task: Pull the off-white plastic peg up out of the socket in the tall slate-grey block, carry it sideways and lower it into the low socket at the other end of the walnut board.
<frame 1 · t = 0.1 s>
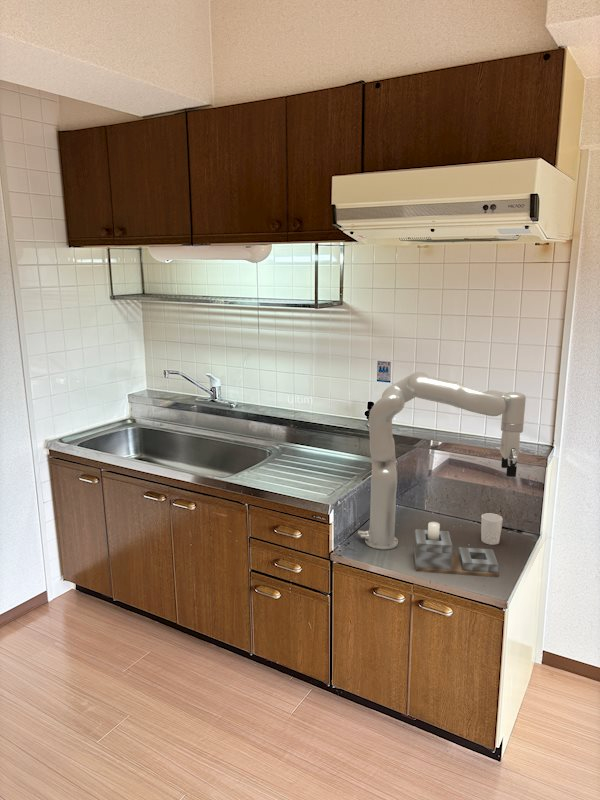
hand: (508, 472, 224), 31 cm above the countertop, tool pointing down, fingers open, 9 cm apart
peg: (432, 544, 219), point 7 cm above the countertop, touching socket board
socket board: (454, 564, 219), on the countertop
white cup: (490, 541, 238), on the countertop
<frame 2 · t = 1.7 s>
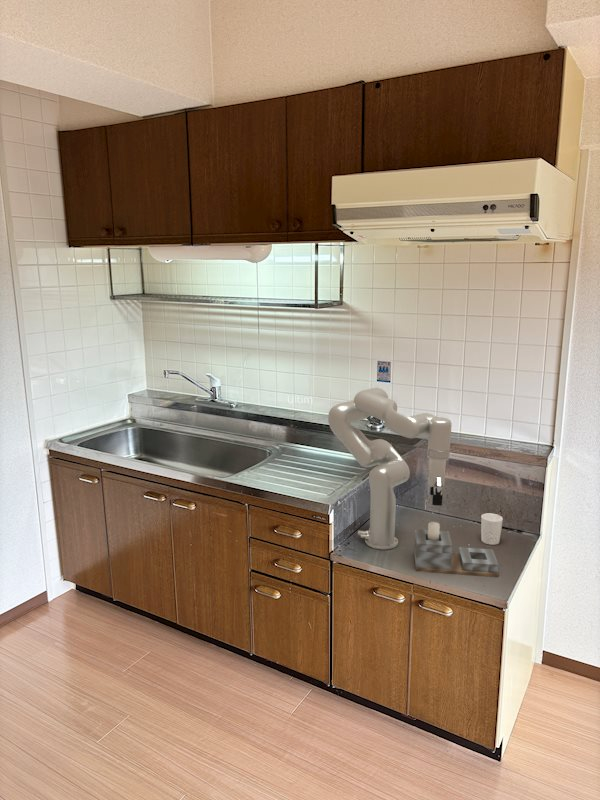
hand: (435, 499, 215), 24 cm above the countertop, tool pointing down, fingers open, 9 cm apart
nothing on the countertop moved.
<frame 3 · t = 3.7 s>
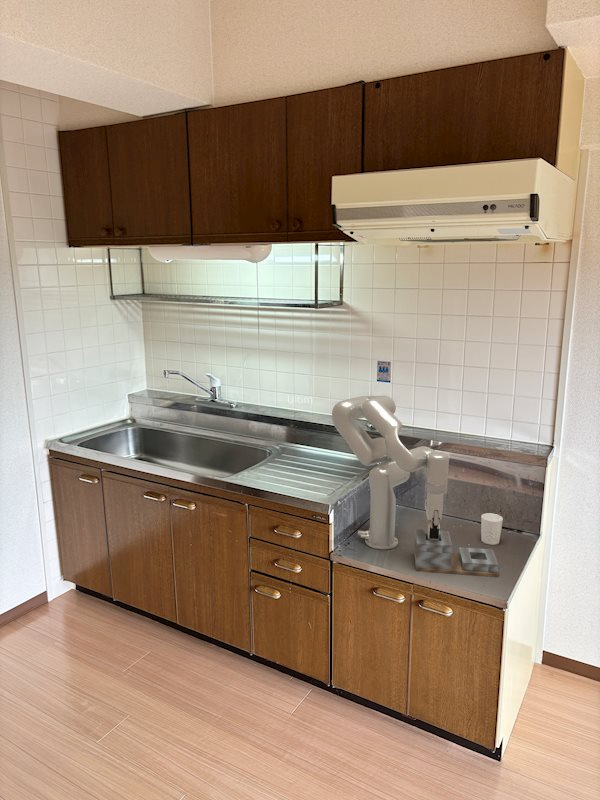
hand: (433, 535, 218), 11 cm above the countertop, tool pointing down, fingers closed on peg, 4 cm apart
peg: (432, 544, 219), point 7 cm above the countertop, touching gripper, socket board
everything else where it was.
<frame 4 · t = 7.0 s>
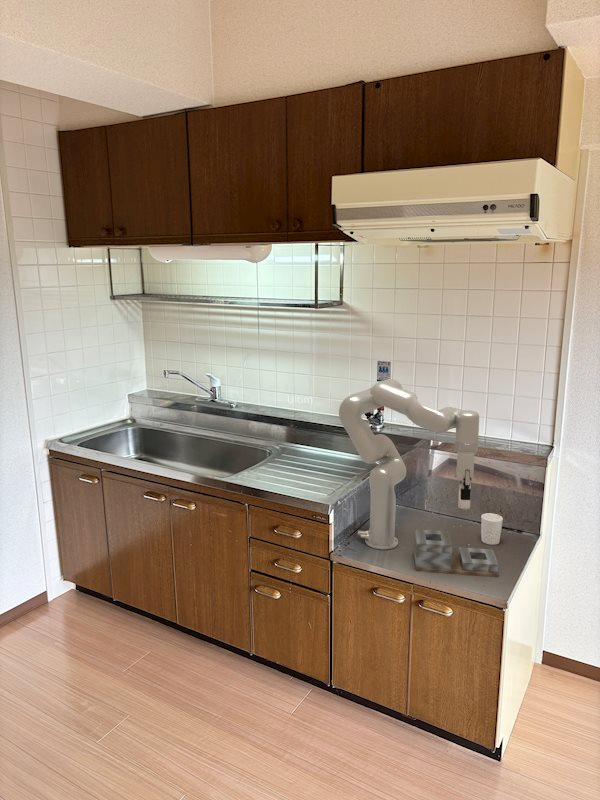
hand: (464, 496, 213), 26 cm above the countertop, tool pointing down, fingers closed on peg, 4 cm apart
peg: (464, 507, 214), point 22 cm above the countertop, touching gripper
everything else where it was.
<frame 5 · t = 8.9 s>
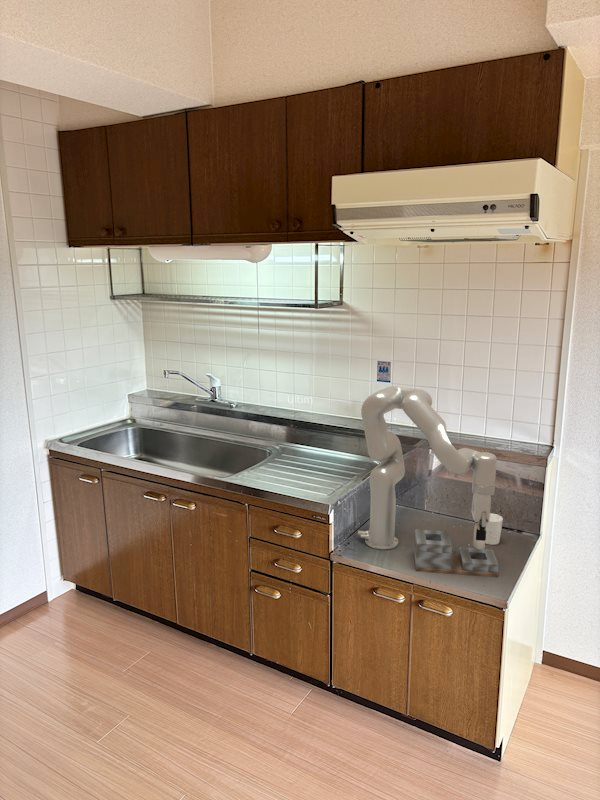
hand: (479, 536, 216), 11 cm above the countertop, tool pointing down, fingers closed on peg, 4 cm apart
peg: (478, 546, 216), point 8 cm above the countertop, touching gripper
everything else where it was.
when the fingers open (6 cm above the countertop, at t = 10.4 s): peg stays where it is, resting on socket board.
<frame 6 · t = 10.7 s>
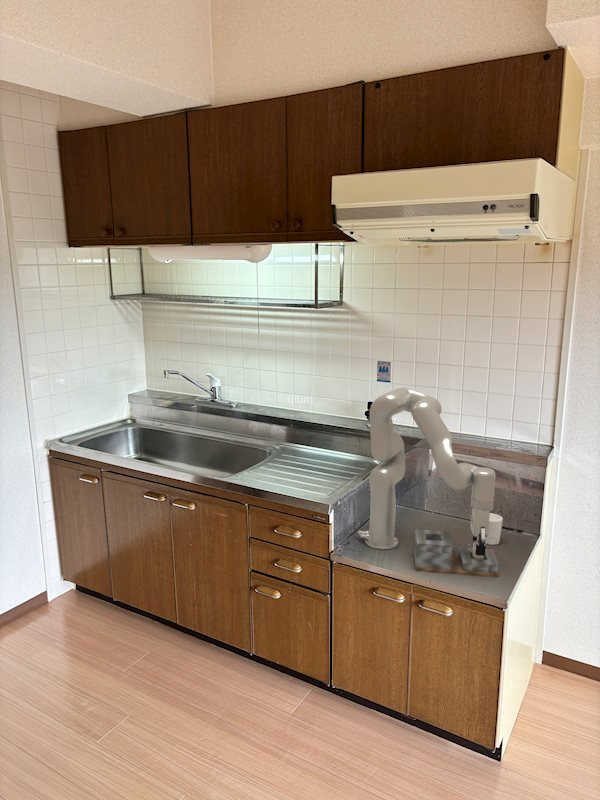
hand: (478, 550, 217), 6 cm above the countertop, tool pointing down, fingers open, 6 cm apart
peg: (477, 563, 218), point 1 cm above the countertop, touching socket board
everything else where it was.
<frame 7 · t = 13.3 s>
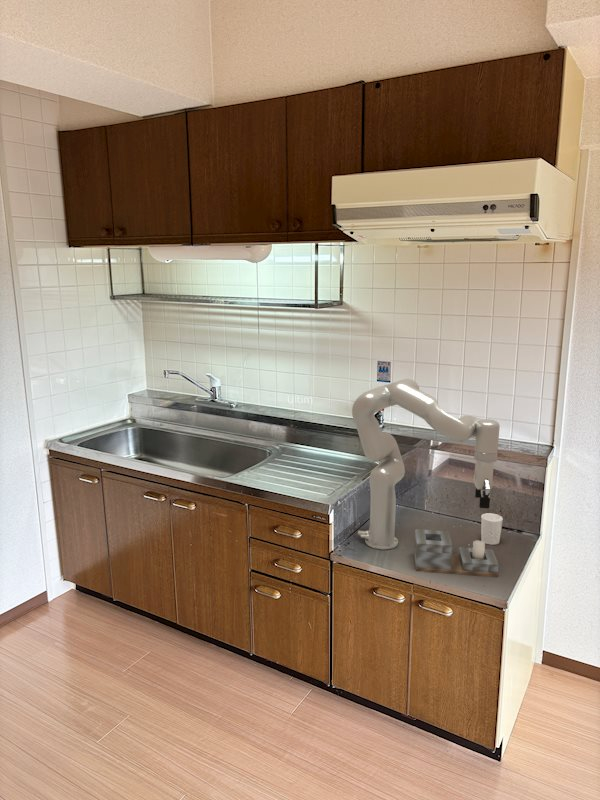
hand: (481, 502, 213), 24 cm above the countertop, tool pointing down, fingers open, 9 cm apart
nothing on the countertop moved.
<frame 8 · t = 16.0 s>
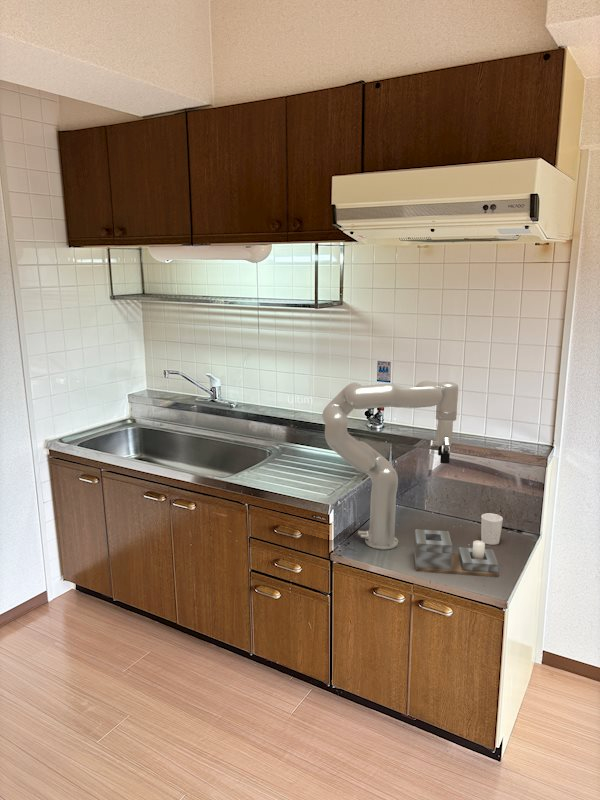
hand: (443, 459, 231), 33 cm above the countertop, tool pointing down, fingers open, 9 cm apart
nothing on the countertop moved.
at the end: peg 0.0 cm from the target spot on the socket board, point 1.0 cm above the socket board's base; peg tilted 0°; the gripper is holding nothing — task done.
